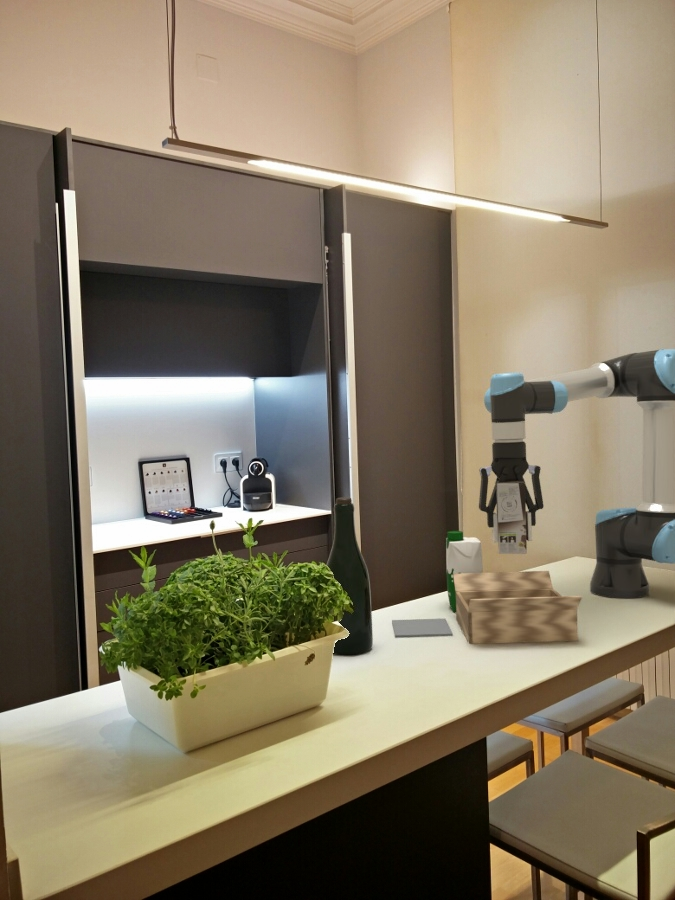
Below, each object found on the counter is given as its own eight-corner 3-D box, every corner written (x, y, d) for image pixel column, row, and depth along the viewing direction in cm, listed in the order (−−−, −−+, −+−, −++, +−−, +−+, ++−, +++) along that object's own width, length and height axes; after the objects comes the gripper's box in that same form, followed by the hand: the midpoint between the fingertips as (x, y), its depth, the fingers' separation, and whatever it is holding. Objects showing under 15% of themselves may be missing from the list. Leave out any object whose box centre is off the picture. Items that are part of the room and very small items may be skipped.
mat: (445, 620, 184) (445, 618, 184) (452, 635, 171) (452, 633, 171) (392, 622, 184) (392, 620, 184) (395, 637, 171) (395, 635, 171)
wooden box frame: (549, 613, 187) (548, 570, 187) (582, 645, 160) (581, 595, 160) (454, 615, 187) (453, 573, 187) (471, 648, 161) (470, 599, 160)
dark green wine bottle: (372, 656, 158) (367, 499, 157) (322, 656, 159) (317, 500, 157) (373, 641, 168) (368, 494, 167) (326, 642, 169) (321, 495, 168)
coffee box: (527, 554, 168) (525, 482, 167) (498, 554, 169) (495, 482, 169) (525, 547, 177) (523, 478, 176) (497, 547, 178) (495, 479, 178)
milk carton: (445, 605, 198) (443, 529, 198) (480, 604, 198) (478, 528, 197) (450, 613, 190) (447, 534, 189) (486, 612, 189) (484, 533, 189)
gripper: (548, 438, 176) (551, 536, 177) (462, 442, 176) (466, 539, 177) (557, 439, 168) (560, 541, 169) (467, 443, 169) (471, 545, 170)
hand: (512, 540), depth 173 cm, fingers closed on coffee box, 7 cm apart
